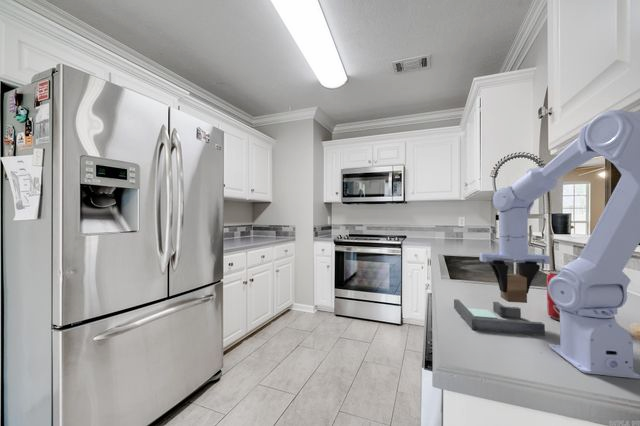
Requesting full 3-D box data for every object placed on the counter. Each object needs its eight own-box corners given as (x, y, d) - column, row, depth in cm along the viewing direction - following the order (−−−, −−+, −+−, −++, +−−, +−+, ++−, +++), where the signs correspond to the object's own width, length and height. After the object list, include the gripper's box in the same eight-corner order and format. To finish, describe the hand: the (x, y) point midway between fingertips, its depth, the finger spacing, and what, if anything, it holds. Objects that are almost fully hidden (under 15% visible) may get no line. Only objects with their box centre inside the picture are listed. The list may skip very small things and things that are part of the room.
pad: (497, 318, 69) (497, 317, 69) (471, 316, 70) (471, 315, 70) (488, 310, 75) (488, 309, 75) (464, 309, 76) (464, 308, 76)
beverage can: (586, 324, 65) (585, 275, 65) (557, 322, 66) (556, 274, 66) (568, 315, 71) (567, 270, 71) (541, 313, 72) (541, 269, 73)
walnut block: (527, 303, 63) (526, 277, 63) (508, 301, 64) (507, 276, 64) (518, 298, 67) (518, 274, 67) (500, 297, 68) (500, 273, 68)
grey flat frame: (544, 335, 59) (544, 324, 59) (471, 329, 62) (471, 318, 62) (511, 311, 74) (511, 302, 74) (454, 307, 77) (453, 299, 77)
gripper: (537, 235, 68) (538, 289, 68) (475, 235, 71) (475, 285, 71) (555, 238, 61) (556, 297, 61) (485, 237, 64) (485, 293, 64)
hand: (513, 291), depth 65 cm, fingers closed on walnut block, 4 cm apart
